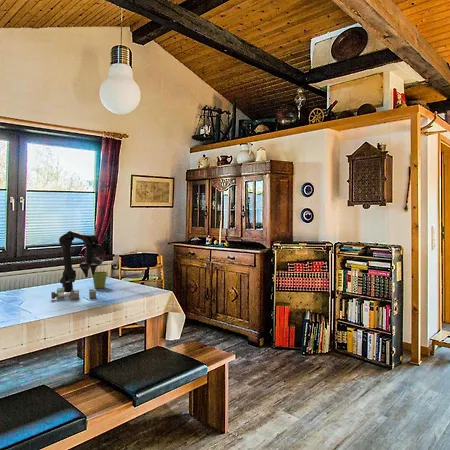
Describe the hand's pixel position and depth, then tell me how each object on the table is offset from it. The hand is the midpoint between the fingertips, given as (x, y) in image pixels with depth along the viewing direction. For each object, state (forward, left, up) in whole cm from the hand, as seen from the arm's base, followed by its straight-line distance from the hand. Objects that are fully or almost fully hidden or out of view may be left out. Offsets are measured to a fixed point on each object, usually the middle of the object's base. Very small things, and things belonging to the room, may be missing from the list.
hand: (90, 276), depth 263 cm
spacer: (-15, -11, -13) cm, 23 cm away
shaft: (-7, -15, -12) cm, 21 cm away
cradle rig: (+1, -8, -13) cm, 15 cm away
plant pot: (-11, +24, -13) cm, 29 cm away
